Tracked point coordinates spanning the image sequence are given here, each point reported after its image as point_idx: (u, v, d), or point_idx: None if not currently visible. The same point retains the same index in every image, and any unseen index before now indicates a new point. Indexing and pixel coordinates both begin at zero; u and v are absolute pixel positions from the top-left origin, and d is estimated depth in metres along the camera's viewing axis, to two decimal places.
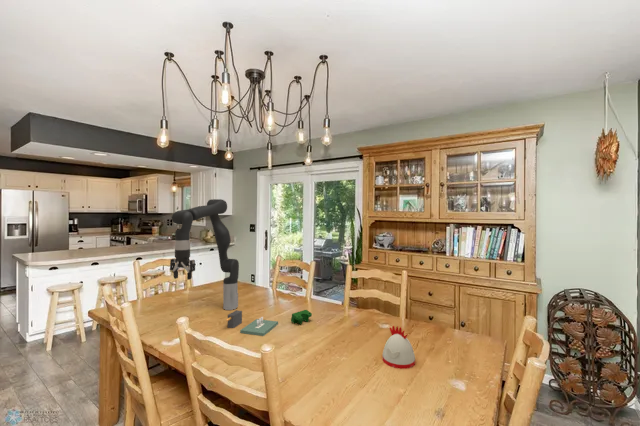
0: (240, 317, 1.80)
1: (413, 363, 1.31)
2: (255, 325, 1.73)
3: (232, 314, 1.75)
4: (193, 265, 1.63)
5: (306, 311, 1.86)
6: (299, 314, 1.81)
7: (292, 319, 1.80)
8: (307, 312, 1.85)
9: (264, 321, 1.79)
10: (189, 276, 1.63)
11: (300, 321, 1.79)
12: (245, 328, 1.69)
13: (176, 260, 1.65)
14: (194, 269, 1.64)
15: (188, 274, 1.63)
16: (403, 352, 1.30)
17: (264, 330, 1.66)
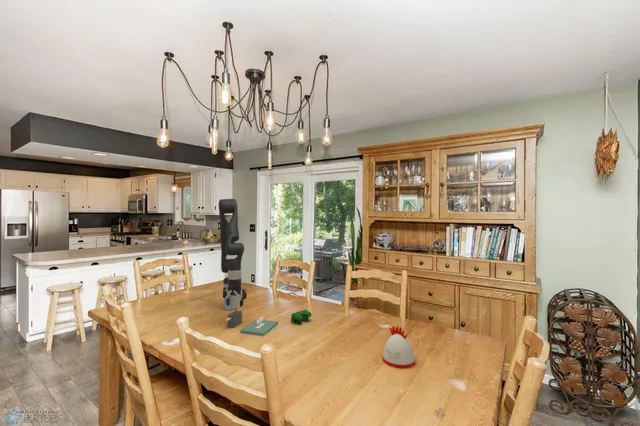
0: (240, 317, 1.80)
1: (413, 363, 1.31)
2: (255, 325, 1.73)
3: (232, 314, 1.75)
4: (245, 293, 1.75)
5: (306, 311, 1.86)
6: (299, 314, 1.81)
7: (292, 319, 1.80)
8: (307, 312, 1.85)
9: (264, 321, 1.79)
10: (241, 304, 1.75)
11: (300, 321, 1.79)
12: (245, 328, 1.69)
13: (229, 288, 1.77)
14: (246, 297, 1.76)
15: (240, 302, 1.75)
16: (403, 352, 1.30)
17: (264, 330, 1.66)
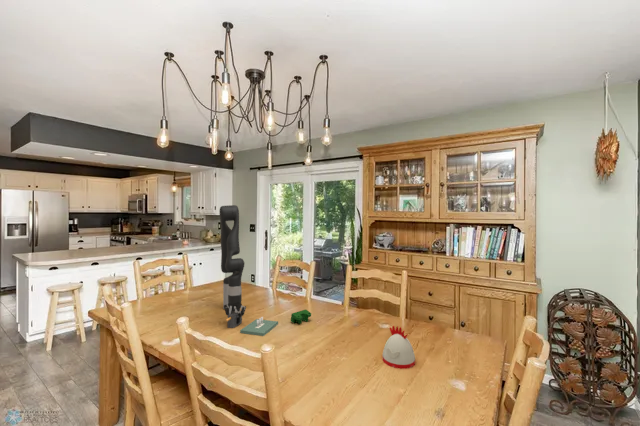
0: (240, 317, 1.80)
1: (413, 363, 1.31)
2: (255, 325, 1.73)
3: (232, 314, 1.75)
4: (243, 311, 1.76)
5: (306, 311, 1.86)
6: (299, 314, 1.81)
7: (292, 319, 1.80)
8: (307, 312, 1.85)
9: (264, 321, 1.79)
10: (238, 321, 1.76)
11: (300, 321, 1.79)
12: (245, 328, 1.69)
13: (229, 304, 1.77)
14: (243, 314, 1.77)
15: (237, 319, 1.76)
16: (403, 352, 1.30)
17: (264, 330, 1.66)
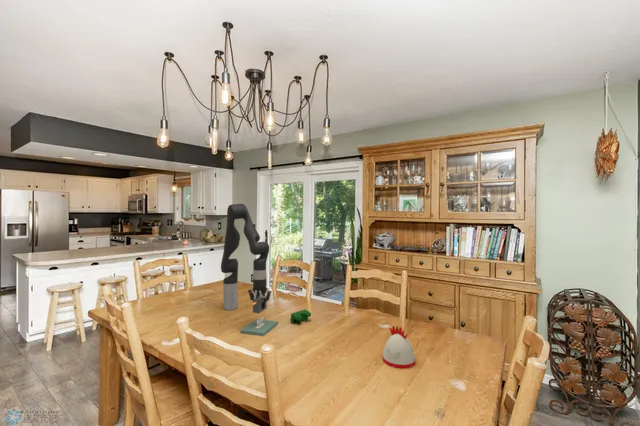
0: None
1: (413, 363, 1.31)
2: (255, 325, 1.73)
3: (257, 299, 1.70)
4: (269, 296, 1.71)
5: (305, 311, 1.86)
6: (299, 314, 1.81)
7: (291, 319, 1.80)
8: (306, 312, 1.85)
9: (264, 321, 1.79)
10: (263, 306, 1.71)
11: (299, 321, 1.80)
12: (245, 328, 1.69)
13: (253, 289, 1.72)
14: (268, 299, 1.72)
15: (263, 304, 1.71)
16: (403, 352, 1.30)
17: (264, 330, 1.66)
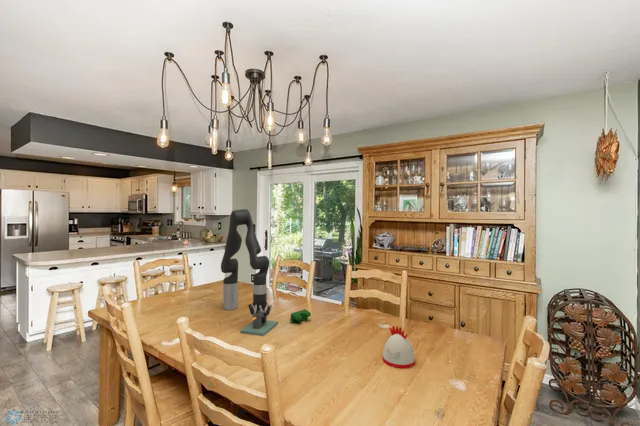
0: None
1: (413, 363, 1.31)
2: None
3: (257, 313, 1.70)
4: (269, 311, 1.71)
5: (305, 311, 1.86)
6: (298, 314, 1.81)
7: (291, 319, 1.80)
8: (306, 312, 1.85)
9: None
10: (264, 320, 1.71)
11: (299, 321, 1.80)
12: (245, 328, 1.69)
13: (254, 303, 1.72)
14: (268, 314, 1.72)
15: (263, 318, 1.71)
16: (403, 352, 1.30)
17: (264, 330, 1.66)
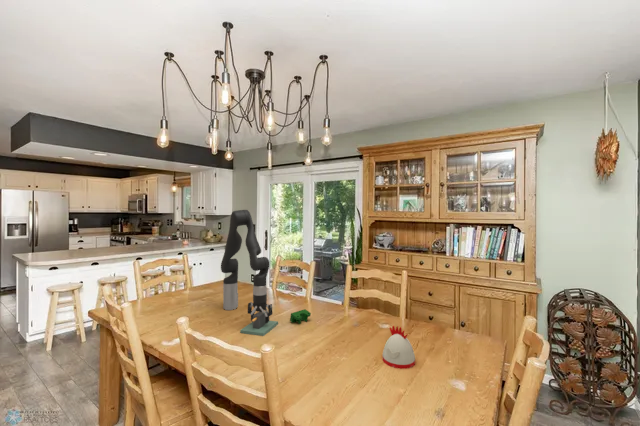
0: None
1: (413, 363, 1.31)
2: None
3: (257, 314, 1.70)
4: (271, 309, 1.71)
5: (305, 311, 1.86)
6: (298, 314, 1.82)
7: (291, 319, 1.81)
8: (306, 312, 1.85)
9: None
10: (267, 320, 1.71)
11: (299, 321, 1.80)
12: (245, 328, 1.69)
13: (254, 304, 1.72)
14: (271, 313, 1.71)
15: (266, 318, 1.70)
16: (403, 352, 1.30)
17: (264, 330, 1.66)
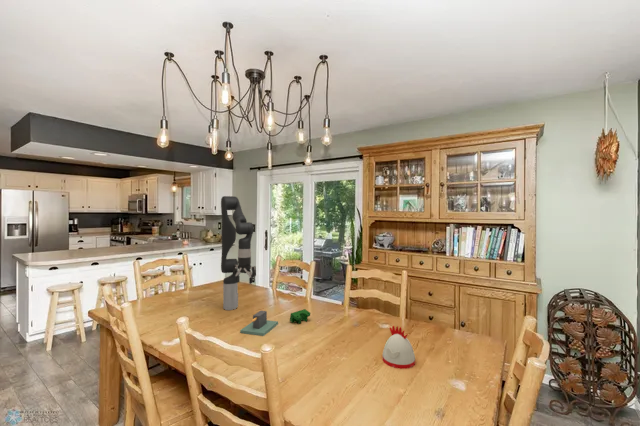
0: (265, 317, 1.75)
1: (413, 363, 1.31)
2: None
3: (257, 314, 1.70)
4: (255, 271, 1.83)
5: (305, 311, 1.86)
6: (298, 313, 1.82)
7: (291, 318, 1.81)
8: (306, 312, 1.85)
9: None
10: (251, 281, 1.83)
11: (299, 320, 1.80)
12: (245, 328, 1.69)
13: (239, 266, 1.84)
14: (255, 274, 1.83)
15: (250, 279, 1.82)
16: (403, 352, 1.30)
17: (264, 330, 1.66)
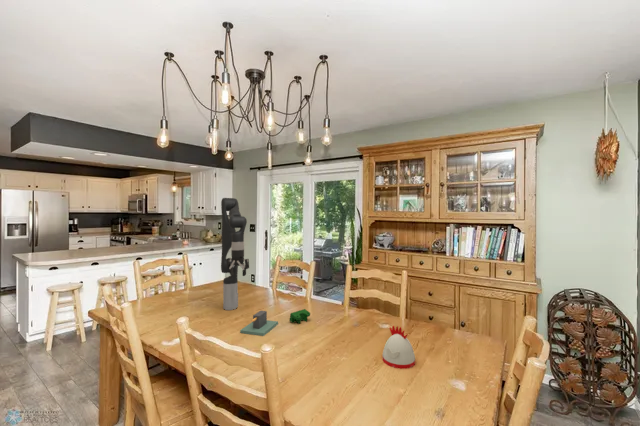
0: (265, 317, 1.75)
1: (413, 363, 1.31)
2: None
3: (257, 314, 1.70)
4: (247, 263, 1.87)
5: (304, 310, 1.87)
6: (298, 313, 1.82)
7: (290, 318, 1.81)
8: (305, 311, 1.86)
9: None
10: (244, 273, 1.87)
11: (298, 320, 1.80)
12: (245, 328, 1.69)
13: (232, 259, 1.89)
14: (248, 267, 1.88)
15: (243, 271, 1.87)
16: (403, 352, 1.30)
17: (264, 330, 1.66)
